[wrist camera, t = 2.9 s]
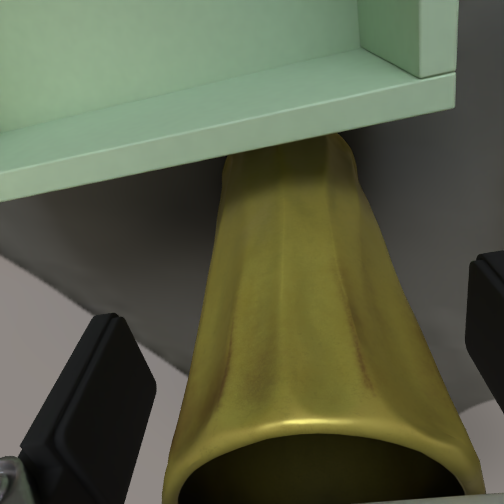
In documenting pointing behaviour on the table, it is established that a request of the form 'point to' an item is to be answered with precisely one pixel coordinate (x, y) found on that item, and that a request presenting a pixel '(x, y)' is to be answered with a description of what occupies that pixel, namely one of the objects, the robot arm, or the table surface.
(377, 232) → the vase
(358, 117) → the tote
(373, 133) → the table surface
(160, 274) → the table surface
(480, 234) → the table surface
